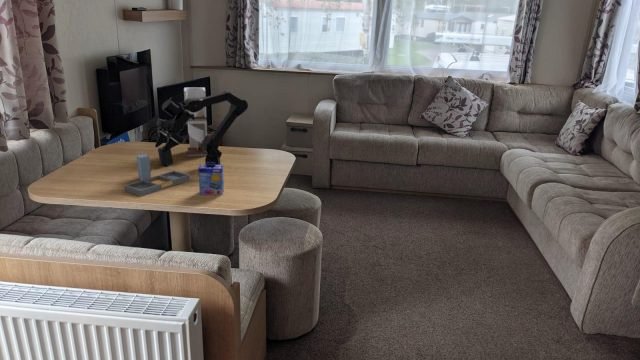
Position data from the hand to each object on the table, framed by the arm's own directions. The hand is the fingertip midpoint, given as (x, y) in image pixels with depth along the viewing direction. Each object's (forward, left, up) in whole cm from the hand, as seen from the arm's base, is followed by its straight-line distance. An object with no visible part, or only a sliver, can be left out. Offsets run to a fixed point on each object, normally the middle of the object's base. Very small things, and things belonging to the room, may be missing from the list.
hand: (159, 149), depth 227 cm
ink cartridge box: (-31, +16, -13) cm, 37 cm away
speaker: (+6, -18, -13) cm, 23 cm away
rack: (-5, +12, -13) cm, 18 cm away
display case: (-2, -41, -13) cm, 43 cm away
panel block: (+5, +6, -13) cm, 15 cm away
